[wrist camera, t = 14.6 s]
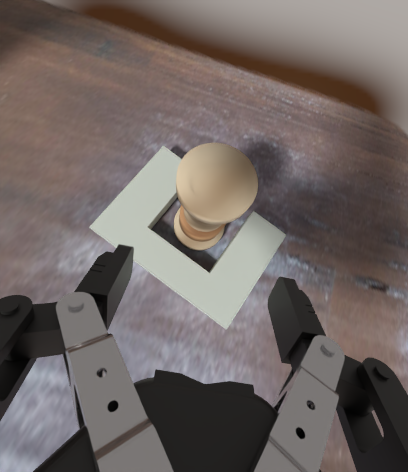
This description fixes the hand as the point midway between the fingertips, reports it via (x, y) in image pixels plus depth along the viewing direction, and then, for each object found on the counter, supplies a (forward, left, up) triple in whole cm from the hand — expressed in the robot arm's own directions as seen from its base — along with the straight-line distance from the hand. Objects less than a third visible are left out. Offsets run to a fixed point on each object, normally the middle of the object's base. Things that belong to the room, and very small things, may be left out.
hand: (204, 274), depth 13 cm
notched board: (-3, +4, -14) cm, 15 cm away
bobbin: (-3, +6, -14) cm, 15 cm away
